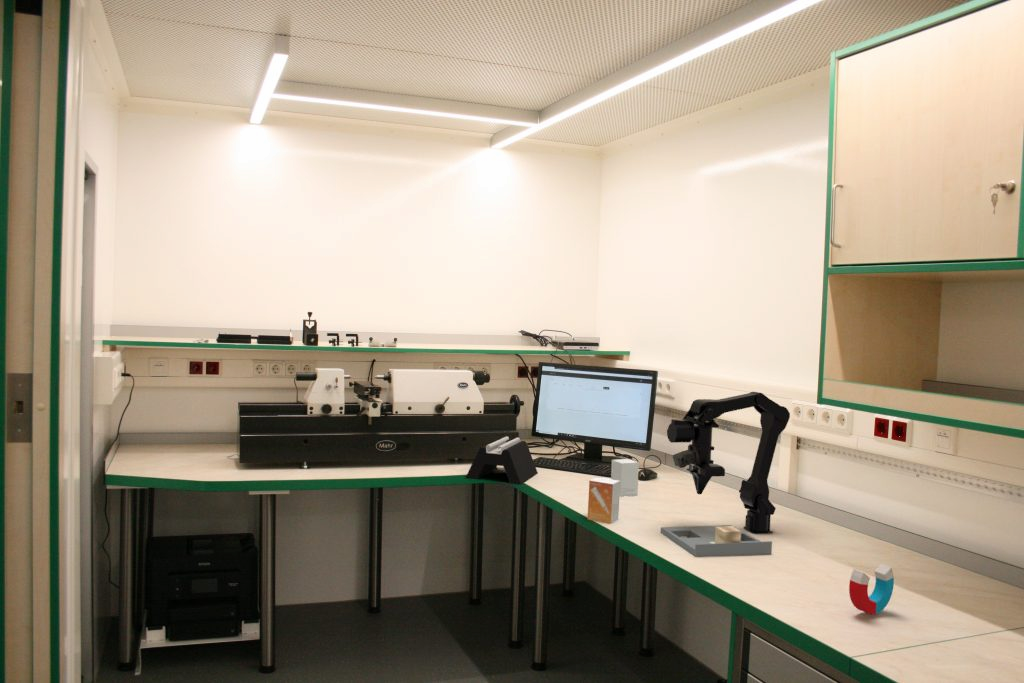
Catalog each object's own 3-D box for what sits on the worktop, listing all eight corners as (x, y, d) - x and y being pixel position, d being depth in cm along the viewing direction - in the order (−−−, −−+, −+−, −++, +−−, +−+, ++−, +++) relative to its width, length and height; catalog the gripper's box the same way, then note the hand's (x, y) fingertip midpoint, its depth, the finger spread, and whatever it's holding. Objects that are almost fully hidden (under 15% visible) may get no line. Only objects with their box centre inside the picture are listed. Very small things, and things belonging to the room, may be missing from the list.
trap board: (660, 533, 225) (661, 522, 225) (730, 531, 231) (730, 520, 231) (695, 557, 204) (696, 544, 204) (771, 554, 210) (772, 541, 210)
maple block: (731, 542, 213) (731, 526, 213) (740, 547, 208) (741, 531, 208) (714, 542, 212) (715, 526, 212) (723, 548, 207) (724, 531, 207)
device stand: (464, 482, 286) (465, 442, 285) (484, 471, 307) (486, 434, 307) (521, 488, 279) (522, 448, 278) (538, 477, 300) (539, 439, 300)
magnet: (881, 606, 174) (884, 563, 173) (892, 610, 171) (895, 566, 171) (847, 614, 168) (849, 569, 168) (858, 618, 166) (860, 573, 165)
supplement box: (638, 497, 271) (639, 462, 270) (619, 498, 268) (621, 463, 268) (627, 492, 278) (629, 458, 277) (609, 493, 275) (611, 459, 274)
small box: (587, 521, 236) (588, 480, 236) (595, 517, 242) (596, 476, 241) (611, 525, 232) (613, 483, 232) (618, 521, 238) (620, 480, 237)
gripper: (663, 437, 233) (660, 487, 234) (691, 447, 215) (689, 502, 216) (696, 437, 236) (693, 486, 237) (727, 447, 218) (724, 501, 218)
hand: (699, 494), depth 227 cm, fingers closed
